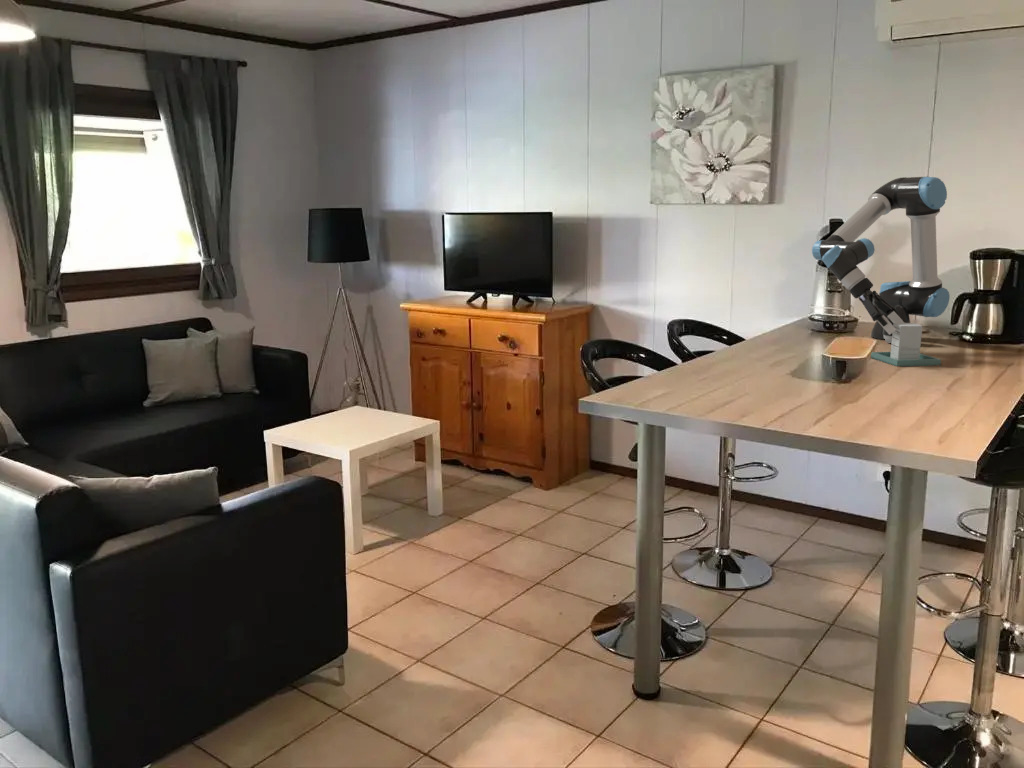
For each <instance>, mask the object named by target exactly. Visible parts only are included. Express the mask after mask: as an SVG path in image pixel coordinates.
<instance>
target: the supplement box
mask: <svg viewBox="0 0 1024 768" xmlns="http://www.w3.org/2000/svg"><path fill="white" fill-rule="evenodd" d="M893 326H894V327H895V329H896V330H895V331H894V332H893V334H892V344H890V348H891V349H890V352H891V354H890V357H891V358H894V359H897V360H914V359H919V355H920V353H921V343H922V334H923V325H921V324H918V323H917V322H910V323H893Z"/></svg>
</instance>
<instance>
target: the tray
mask: <svg viewBox="0 0 1024 768" xmlns="http://www.w3.org/2000/svg"><path fill="white" fill-rule="evenodd" d="M871 352H872V353H871ZM871 352H870V358H871V359H873V360H875V361H878V360H879V361H878V362H881V361H882V363H884V362H885V363H884V364H887V363H888V365H890V364H891V366H893V365H894V366H893V367H896V366H900V367H928V365H929V367H932V366H933V365H939V366H941V363H942V362H941V361H942V359H941V358H937V357H934V356H931V355H927V354H923V353H921V352H920V355H919V359H914V360H897V359H894V358H891V357H890V354H891V351H871ZM933 367H934V366H933Z"/></svg>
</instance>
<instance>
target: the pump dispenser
mask: <svg viewBox="0 0 1024 768" xmlns="http://www.w3.org/2000/svg"><path fill="white" fill-rule="evenodd" d="M893 308H895V309H896V310H894V312H895V313H896V314H897V315H898V316H899V317H900V318H901V319H902V321H903V322H904V323H911V318H910V315H909V314H908V311H907V309H906V308H905V307H904V306H902V305H897V306H894V307H893ZM887 320H888V321H889V322H890V323H891V324H892V325H893V322H892V321H891V320H890V319H889V318H888V316H887ZM892 334H893V333H891V334H890V335H889V334H888V333H887V332H886V330H885V329H884V328H883V336H884V339H885V340H884V341H885V343H888V344H889V343H891V344H892ZM891 344H890V345H891Z"/></svg>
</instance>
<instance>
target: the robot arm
mask: <svg viewBox="0 0 1024 768" xmlns="http://www.w3.org/2000/svg"><path fill="white" fill-rule="evenodd" d="M947 199H948V191H947V187H946V184H945V182H944V181H942V180H941V178H939V177H935V176H911V177H909V176H908V177H906V176H905V177H898V178H895V179H892V180H890V181H888V182H887V183H884V184H883V185H881V186H880V187H879V188H878V189H876V190H875V191H874V192H873V193H871V194H870V195H869V197H868V198H867V202H865V204H863V205H862V206H861V207H860V208H858V210H857V211H856V212H855V213H853V214H852V216H850V217H849V218H848V219H847V220H846V221H845V222H844V223H843V224H842V225H841V226H839V227H838V228H837V229H836V230H835V231H834V232H833V233H832V234H831V235H830V236H828V237H827V239H821V240H817V241H815V242H814V243H813V244H812V248H811V254H812V256H813V258H814V259H815V260H818V261H822V262H823V264H824V265H825V266H826V267H827V269H828V270H829V271H830V272H831V273H832V274H833V275H834V276H835V277H836V278H837V280H838V281H839V282H840V283H841V286H842V287H845V289H846V290H848V291H849V293H850V294H851V296H852V297H853V298H854V299H858V301H860V302H861V303H862V305H863V306H864V308H865V310H866V311H867V312H868V314H869V316H870V317H871V319H872V321H873V322H875V323H874V325H873V327H872V328H871V329H872V330H871V332H870V337H871V338H872V337H874V338H873V339H876V338H877V339H876V340H883V339H884V336H883V328H884V329H885V330H886V332H887V333H888V334H889V335H890V334H891V333H893V332H894V331H895V330H896V329H895V327H894V326H893V325H892V324H891V323H890V322H889V321H888V320H887V316H888V318H889V319H890V320H891V321H892V322H893V323H904V322H903V321H902V319H901V318H900V317H899V316H898V315H897V314H896V313H895V312H894V310H896V309H895V308H893V307H894V306H897V305H902V306H904V307H905V308H906V309H907V311H908V314H909V316H919V317H923V318H938V317H939V316H941V315H943V314H944V312H945V311H946V309H947V308H948V306H949V303H950V296H951V295H950V291H949V290H948V289H947V288H945V287H943V281H942V279H940V278H939V277H938V251H937V221H936V220H937V217H936V216H938V215H939V213H940V212H941V208H942V207H943V206H944V205H945V204H946V200H947ZM898 209H905V216H906V217H907V218H909V219H910V235H911V236H910V239H911V240H910V241H911V261H912V262H911V264H912V280H909V281H907V280H905V281H891V282H889V281H888V282H883V283H882V284H881V285H880V288H879V293H878V292H877V291H876V290H873V291H872V290H871V289H872V288H873V286H874V284H873V282H871V280H870V279H869V278H868V277H866V275H865V273H864V272H863V271H862V270H861V269H860V268H859V266H857V265H860V264H861V263H863V262H865V261H867V260H868V259H870V258H871V257H872V256H873V255H874V254H875V245H874V243H873V242H872V240H870V239H869V238H866V237H863V238H861V239H858V238H859V237H860V236H861V235H863V234H864V233H865V232H866V231H867V230H868V229H869V228H871V226H872V225H873V224H874V223H875V222H876V221H877V220H879V218H881V217H882V216H885V215H888V214H889V213H890V212H891V211H893V210H898Z"/></svg>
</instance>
